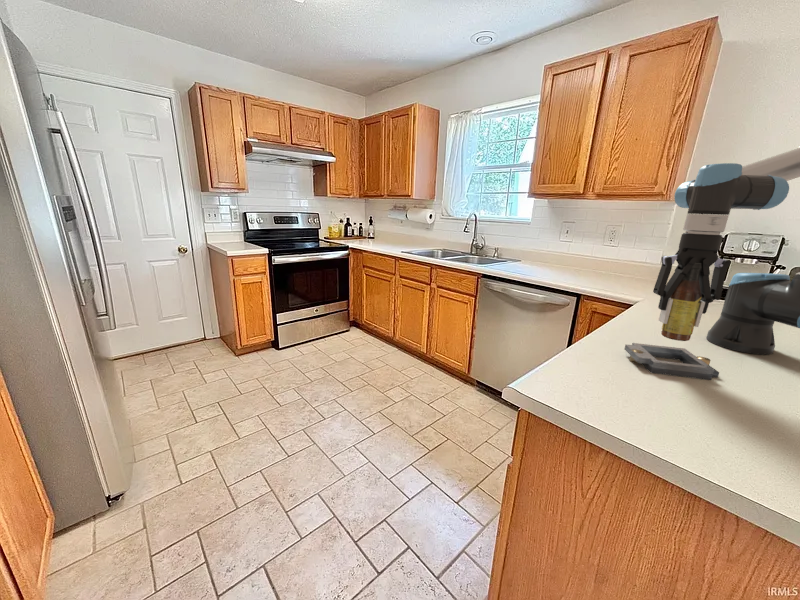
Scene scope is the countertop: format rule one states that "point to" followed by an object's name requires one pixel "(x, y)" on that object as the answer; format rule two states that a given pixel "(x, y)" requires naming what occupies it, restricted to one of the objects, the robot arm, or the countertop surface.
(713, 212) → the robot arm
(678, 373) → the lower chain end link
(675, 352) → the upper chain end link
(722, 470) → the countertop surface
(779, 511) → the countertop surface
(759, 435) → the countertop surface
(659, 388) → the countertop surface
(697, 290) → the sauce bottle
